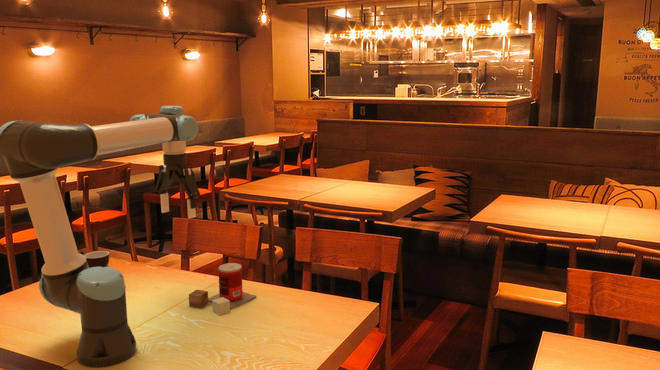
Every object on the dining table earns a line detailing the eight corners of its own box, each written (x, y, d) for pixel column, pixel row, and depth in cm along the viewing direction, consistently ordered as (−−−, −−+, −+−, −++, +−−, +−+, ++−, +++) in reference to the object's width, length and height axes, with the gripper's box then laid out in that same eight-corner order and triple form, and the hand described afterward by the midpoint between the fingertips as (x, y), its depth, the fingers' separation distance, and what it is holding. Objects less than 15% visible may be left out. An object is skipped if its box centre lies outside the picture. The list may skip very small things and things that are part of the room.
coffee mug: (102, 284, 204) (100, 258, 202) (81, 283, 206) (79, 257, 204) (120, 274, 215) (118, 249, 213) (100, 272, 217) (98, 247, 215)
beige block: (219, 315, 178) (219, 304, 177) (212, 312, 180) (212, 300, 180) (230, 312, 180) (229, 300, 179) (223, 308, 183) (222, 297, 182)
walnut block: (201, 309, 183) (200, 296, 182) (189, 307, 184) (188, 294, 183) (208, 303, 187) (207, 291, 186) (197, 302, 188) (196, 289, 188)
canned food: (245, 293, 193) (244, 263, 191) (239, 302, 185) (238, 271, 183) (223, 292, 194) (222, 262, 192) (216, 301, 186) (215, 270, 184)
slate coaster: (231, 309, 182) (231, 307, 182) (205, 301, 189) (205, 299, 188) (256, 297, 191) (256, 295, 191) (231, 290, 198) (231, 288, 198)
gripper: (209, 154, 181) (212, 217, 185) (159, 148, 195) (163, 207, 199) (191, 157, 175) (194, 222, 179) (141, 151, 189) (145, 212, 193)
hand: (178, 214), depth 189 cm, fingers open, 13 cm apart
